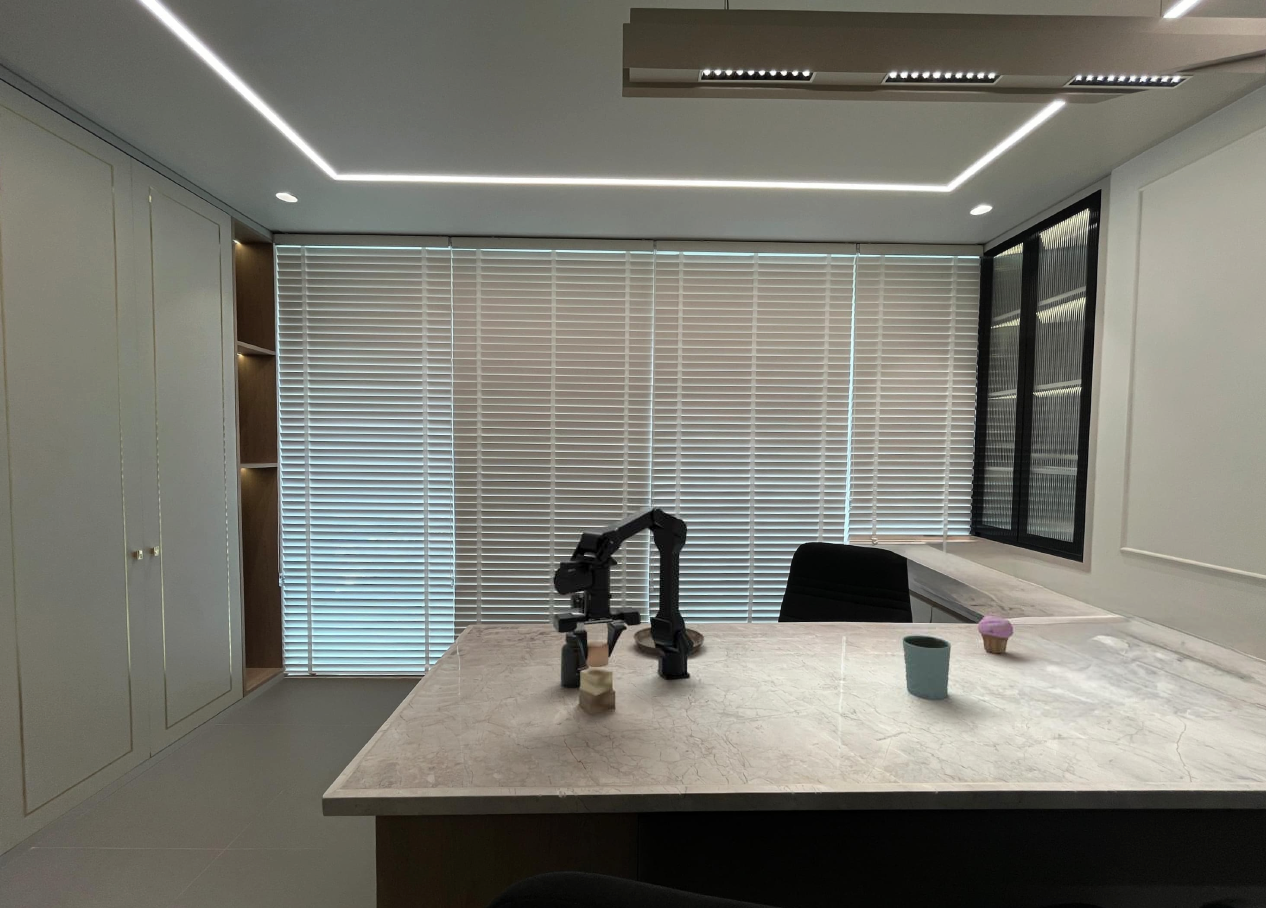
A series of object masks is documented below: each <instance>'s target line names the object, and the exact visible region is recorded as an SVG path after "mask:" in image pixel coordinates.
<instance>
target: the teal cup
mask: <svg viewBox="0 0 1266 908" xmlns="http://www.w3.org/2000/svg"><path fill="white" fill-rule="evenodd" d="M951 646H952V645H951V643H950V642H949V641H947V640H945V639H943V638H939V637H935V636H930V635H923V634H922V635H919V634H918V635H915V634H914V635H907V636H905V637H903V638H902V648H903V652H904V654H903V657H904V659H903V660H904V664H905V665H904V667H905V673H906V674H905V679H906V691H907V692H908V693H909V694H911V695H913V696H915V697H918V698H921V699H925V700H926V699H927V700H933V701H934V700H943V699H946V698H947V697H948V692H949V691H948V690H949V688H948V686H949V674H950V673H949V671H950V659H951V648H952V647H951Z"/></svg>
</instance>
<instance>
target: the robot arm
mask: <svg viewBox="0 0 1266 908" xmlns="http://www.w3.org/2000/svg"><path fill="white" fill-rule="evenodd" d="M646 529H647V530H649V531H650V532H651V533H652V534H653V535H652V536H653V543H654V545H655V547H656V549H657V551H658V552H659V575H658V576H659V584H658V585H659V589H658V590H659V591H658V593H659V595H658V599H659V600H658V611H657V612H656V614H655V616H654V617H651V618H650V627H651V630H650V634H652V639H653V641H654V644H655V648H657V649H660V655H657V656H658V657H657V658H658V660H657V661H658V662H657V667H658V668H657V670H656V671H657V673H659V675H661V676H662V677H663V678H664V679H665V680H675V679H682V678H689V677H691V674H690V673H689V672H688V655H690V654H691V653H690V652H692V649H693V645H694V643H693V641H692V640H691V639H690V638H689V636H688V635H687V634H686V629H685V628H686V621H685V619H684V618H683V616H682V614H681V612H680V555H681V554H680V553H681V551H682V550H683V548H684V546H685V545H686V544H687V543H686V542H687V535H688V526H687V523H686V522H685V521H684V520H683V519H681V518H677V517H675V516H674V515H671V514H669V513H667V512H665V511H664V510H662V509H661V508H659V507H656V506H643V507H641V508H639V510H636V511H635V512H634V513H631V514H629V515H627V516H626V517H624V518H622V519H620V520H618V521H616V522H614V523H612V524H610V525H606V526H599V527H594V528H590V529H586V530H585V531H583V533H582V534H581V538H580V540H579V541H578V543H577V545H576V547H575V550H574V551H573V553H572V555H571V557H570V558H569V559H570V560H569V561H565V560H564V561H560V563H559V568H557V570H556V571H555V573H554V576H553V578H552V581H553V587H554V589H555V590H556V592H557V593H558V594H559V595H561V596H566V595H567V596H568V595H570V601H569V602H570V609H571V610H578V614H581V615H579V616H575V615H574V614H573V612H560V613H555V615H554V616H553V618H552V627H553V628H554V629H555V630H556V631H557V633H561V634H563V633H565V634H566V633H568V632H571V633H572V634H573V635H576V637H577V639H578V641H579V644H580V647H581V651H582V654H583V657H584V659H585V660H587V657H588V645H587V644H588V632H587V630H586V629H585V626H588V625H596V624H606V627H607V637H606V638H607V639H606V643H608V645H609V658H611V655H612V654H613V652H614V649H615V647H616V644H617V643H618V641H619V639H620V637H621V635H622V634H623V631H627V630H628V629H627V626H628V627H632V626H640V625H642V621H641V620H642V617H641V613H640V612H639V611H638V610H637V609H636V608H633V607H632V606H627V607H617V609H616V611H615V612H613V613H612V612H611V600H612V596H613V594H612V593H611V567H613V566H617V565H618V561H617V560H616V559H615V558H613V557H612V556H613V554H615V553H616V552H618V550H620V548H621V545H622V544H623V543H624V542H625V541H626V540H628V539H630V538H633V536H635V535H638V534H639V533H642V532H643V531H644V530H646ZM581 592H582V597H581V595H580V593H581ZM576 593H577V594H576ZM626 625H627V626H626ZM692 653H693V652H692Z"/></svg>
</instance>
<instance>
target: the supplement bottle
mask: <svg viewBox="0 0 1266 908" xmlns="http://www.w3.org/2000/svg"><path fill="white" fill-rule="evenodd" d="M564 642H565V643H564V644H563V645H562V647H561V651H560V684H562V686H564V687H566V688H573V689H575V688H579V687H580V686H581V671H582V670H585V669H588V668H590V666H587V665H586V660H585V659H584V657H583V654H582V651H581V647H580V644H579V641H578V639H577V637H576V635H573V634H572V633H571V632H566V633H565V640H564Z"/></svg>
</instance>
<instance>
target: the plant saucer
mask: <svg viewBox="0 0 1266 908" xmlns="http://www.w3.org/2000/svg"><path fill="white" fill-rule="evenodd" d="M685 629H686V634H687V635H688V636H689V638H690V639H691V640H692V641H693V643H694V645H693V649H692V652H690V654H692V653H694V652H695V651H697V650H698V649H699V648H700V647H701V646H702V644H703V643H704V641H705V636H704V635H703V634H702V633H701V632H699V631H698V630H695V629H691V628H688V627H685ZM650 630H651V626H650V627H646V628H645V627H644V628H643V629H640V630H637V631H636V632H635V633H634V634H633V639H634V641H635V643H636V644H637V646H639V648H641V649H642V650H643V651H645V652H646V653H649V654H651V655H656V656H660V649H657V648H655V644H654V641H653V639H652V634H650Z"/></svg>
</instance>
